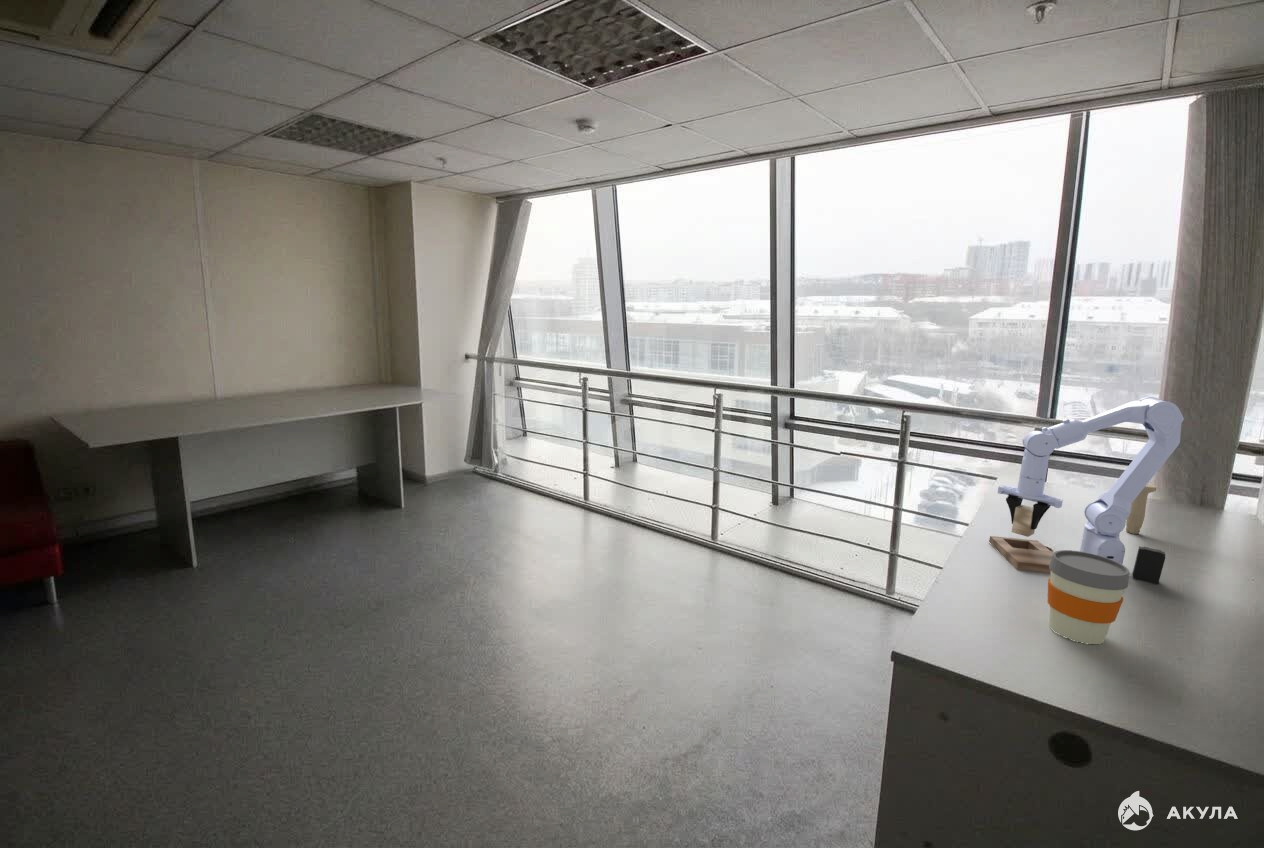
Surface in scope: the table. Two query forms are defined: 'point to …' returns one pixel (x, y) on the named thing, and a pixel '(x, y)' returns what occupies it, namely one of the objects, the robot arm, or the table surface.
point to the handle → (1138, 510)
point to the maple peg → (1023, 520)
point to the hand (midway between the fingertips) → (1023, 526)
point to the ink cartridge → (1148, 565)
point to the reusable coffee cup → (1084, 594)
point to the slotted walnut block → (1024, 553)
